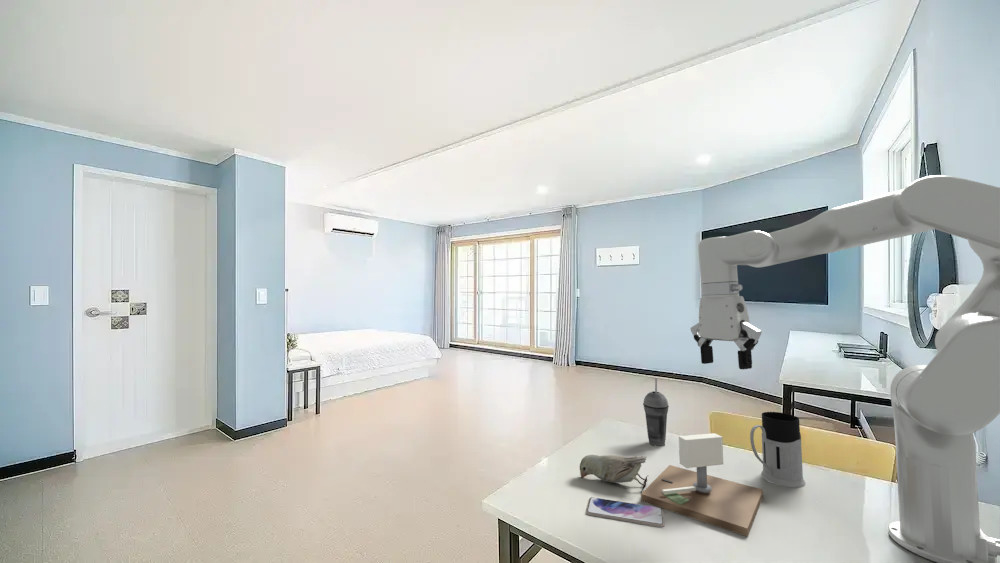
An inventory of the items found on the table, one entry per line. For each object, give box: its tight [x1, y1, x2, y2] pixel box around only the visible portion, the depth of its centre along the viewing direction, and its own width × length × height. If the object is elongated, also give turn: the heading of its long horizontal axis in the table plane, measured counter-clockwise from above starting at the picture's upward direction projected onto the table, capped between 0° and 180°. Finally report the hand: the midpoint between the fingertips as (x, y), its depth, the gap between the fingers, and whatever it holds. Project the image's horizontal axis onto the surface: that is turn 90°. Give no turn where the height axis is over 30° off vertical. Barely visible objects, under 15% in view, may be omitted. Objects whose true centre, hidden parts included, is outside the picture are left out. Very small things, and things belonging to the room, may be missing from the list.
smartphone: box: [585, 496, 665, 528], centre depth 81 cm, size 7×1×15 cm
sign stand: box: [662, 432, 724, 494], centre depth 86 cm, size 14×4×12 cm, turn 100°
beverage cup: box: [642, 377, 670, 448], centre depth 119 cm, size 7×7×20 cm
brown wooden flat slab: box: [640, 464, 764, 537], centre depth 86 cm, size 20×19×2 cm
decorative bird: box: [579, 454, 650, 492], centre depth 94 cm, size 5×16×8 cm, turn 65°
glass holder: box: [749, 411, 806, 489], centre depth 94 cm, size 9×14×15 cm, turn 109°
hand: (725, 365), depth 89 cm, fingers open, 9 cm apart
